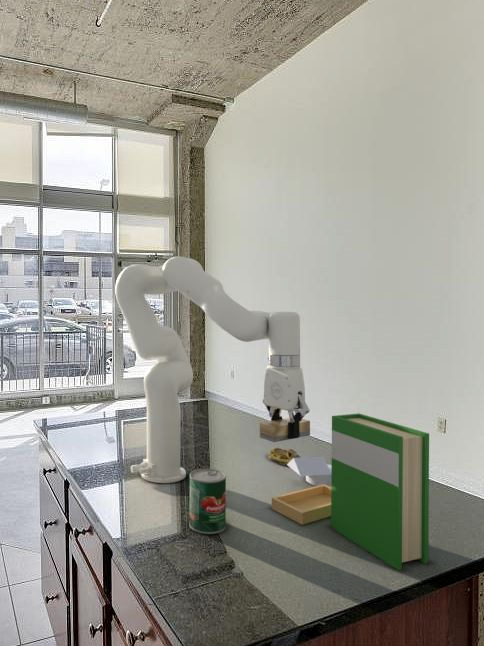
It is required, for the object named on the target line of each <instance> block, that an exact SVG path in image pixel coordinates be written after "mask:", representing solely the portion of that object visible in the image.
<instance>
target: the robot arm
mask: <svg viewBox="0 0 484 646" xmlns="http://www.w3.org/2000/svg"><path fill="white" fill-rule="evenodd" d="M174 292H179V293H180V294H181V295H183V296H184V297H185V298H187V299H189V300H190V301H191V302H192V303H194V304H195V305H197V306H198V307H200V308H201V310H202V311H203V313H205V315H207V317H208V318H209V319H210V320H211V321H212V322H213V323H214V324H215V325H217V326H218V327H219V328H220V329H222V330H223V331H225V332H226V333H228V334H229V335H230V336H232V337H233V338H235V339H236V340H238V341H241V342H245V343H248V342H255V341H260V340H268V355H267V359H268V365H267V366H266V369H265V374H264V382H263V383H264V385H263V399H262V403H263V404H264V405H265V407H266V410H267V412H268V413H269V414H268V416H269V417H270V421H274V420H280V419H283V416H281V414H282V410H283V411H287V414H288V418H290V422H288V438H289V439H288V440H294V439H299V438H300V437H299V436H300V430H299V422H300V421H302V419H304V417H305V416H306V415H307V414H309V413H310V410H311V409H310V408H309V405H308V404H307V402H306V387H305V379H304V373H303V368H301V319H300V318H301V317H300V315H299V313H297V312H295V311H273V312H269V311H262V310H249V309H247V308H246V307H244V306H242V305H241V304H240V303H238V302H237V301H236V300H234V299H233V298H231V296H229V295H228V293H226V292H225V290H224V286H223V283H221V281H220V280H218V279H217V278H215V277H213V276H212V275H211V274H209V273H208V272H206V271H205V270H204V268H203V266H202V264H201V263H200V262H199V261H198V260H196V259H193V258H190V257H185V256H179V255H176V256H172V257H170V258H168V259H166V261H165V262H164V264H163V265H158V266H154V265H150V264H144V263H143V264H141V263H136V264H131V265H130V264H129V265H128V266H126V267H125V268H124V269H123V270H122V271H121V272H120V273H119V275H118V276H117V279H116V282H115V289H114V293H115V298H116V302H117V305H118V307H119V309H120V311H121V314H122V316H123V318H124V321H125V324H126V327H127V329H128V332H129V335H130V338H131V340H132V343H133V346H134V348H135V351H136V353H137V354H138V356H139V357H140V358H141V359H143V360H146V361H154V360H157V363H154V364H153V365H151V366H150V367H149V368H148V369H147V370H146V372H145V374H144V377H143V389H144V396H145V403H146V458H143V459H142V462H141V463H139V464H134V465H130V467H129V468H130V469H129V470H130V473H132V474H134V473H139V475H140V476H141V478H142V479H143V480H145V481H148V482H151V483H155V484H171V483H177V482H180V481H182V480H184V479H185V478H186V477H187V470H186V469H185V468H184V467H182V466H181V452H182V451H181V449H182V448H181V443H182V441H181V439H182V438H181V437H182V436H181V434H182V433H181V431H182V429H181V428H182V426H181V425H182V424H181V423H182V418H181V417H182V414H181V413H182V411H181V403H180V400H179V395H178V393H180V392H184V391H185V390H186V391H187V390H188V388H190V387H191V386H192V383H193V381H194V371H193V367H192V364H191V362H190V360H189V356H188V354H187V352H186V350H185V348H184V344H183V342H182V340H181V337H180V335H179V334H178V332H176V330H174V328H172V327H170V326H167V325H160V324H159V322H158V319H157V318H156V315H155V312H154V309H153V307H152V306H151V305H150V303H149V301H148V300H147V299H146V296H145V295H151V296H155V295H163V294H169V293H174ZM294 413H295V414H294Z"/></svg>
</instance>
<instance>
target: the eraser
mask: <svg viewBox="0 0 484 646" xmlns="http://www.w3.org/2000/svg"><path fill="white" fill-rule="evenodd" d="M288 422H290V418H289V417H287V418H282V419H280V420H274V421H271V420H270V421H263V422H259V438H260V439H263V440H266V441H269V442H272V443H278V442H283V441H288V440H290V439H289V438H288ZM299 430H300V436H299V438H303V437H309V436H311V420H310V419H309V420H308V419H304V418H302V421H300V422H299Z"/></svg>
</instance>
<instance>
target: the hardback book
mask: <svg viewBox="0 0 484 646" xmlns="http://www.w3.org/2000/svg"><path fill="white" fill-rule="evenodd" d="M331 465H332V475H331V516H330V517H331V518H330V528H331V529H333V530H334V531H336V532H337V533H339V534H340V535H342V536H344V537H345V538H347V539H349V541H351V542H353V543H355V544H357V545H358V546H359V547H361V548H363V549H364V550H365V551H367V552H369V553H370V554H372V555H374V556H376V557H377V558H378V559H380V560H381V561H383V562H384V563H386V564H388V565H389V566H391V567H393V568H394V569H396V570H402V569H403V563H406V562H410V561H415V560H418V561H420V562H422V563H423V564H427V563H429V532H430V531H429V526H430V525H429V524H430V523H429V522H430V521H429V519H430V517H429V515H430V513H429V512H430V511H429V510H430V508H429V507H430V433H428V432H426V431H422V430H418V429H415V428H413V427H412V428H411V427H408V426H405V425H401V424H397V423H394V422H390V421H388V420H383V419H380V418H376V417H373V416H370V415H366V414H362V413H359V412H358V413H350V414H339V415H338V414H337V415H332V416H331Z"/></svg>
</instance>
